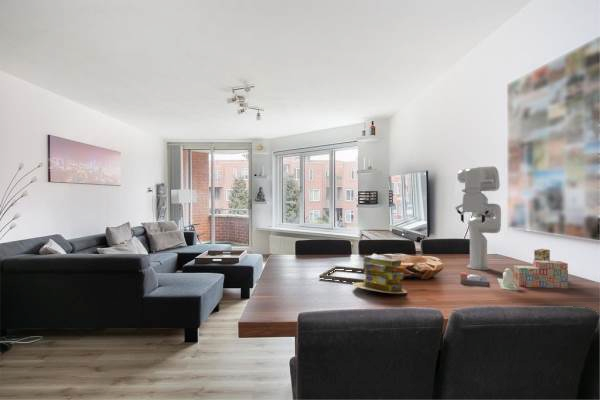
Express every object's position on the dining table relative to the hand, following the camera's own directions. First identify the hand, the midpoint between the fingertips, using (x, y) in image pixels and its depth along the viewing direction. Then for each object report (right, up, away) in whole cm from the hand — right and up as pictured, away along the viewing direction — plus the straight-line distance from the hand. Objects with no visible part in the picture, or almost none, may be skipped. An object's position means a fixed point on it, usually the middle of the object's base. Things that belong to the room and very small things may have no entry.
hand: (472, 222), depth 182 cm
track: (+9, -30, -15) cm, 35 cm away
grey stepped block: (-5, -30, -11) cm, 32 cm away
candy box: (+37, -30, -2) cm, 48 cm away
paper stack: (-58, -31, -25) cm, 70 cm away
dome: (-5, -30, -11) cm, 32 cm away
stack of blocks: (+24, -31, -18) cm, 43 cm away
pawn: (+7, -30, -20) cm, 37 cm away
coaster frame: (-67, -31, +3) cm, 74 cm away
